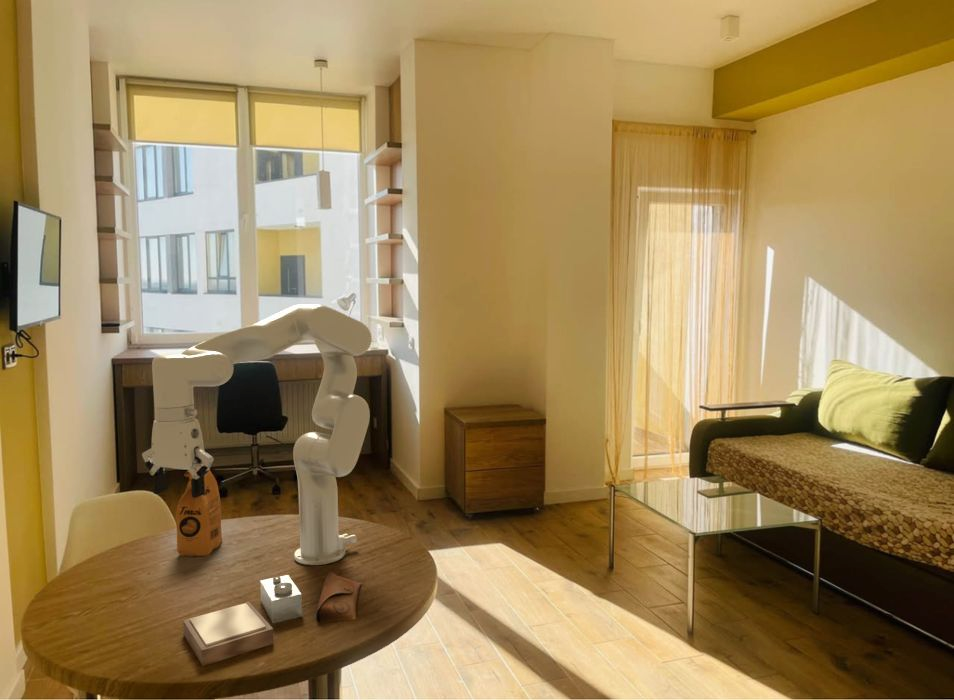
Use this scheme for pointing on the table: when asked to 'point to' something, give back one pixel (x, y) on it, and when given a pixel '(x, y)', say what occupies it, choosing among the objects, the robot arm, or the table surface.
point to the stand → (227, 633)
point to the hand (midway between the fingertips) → (179, 494)
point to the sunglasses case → (337, 599)
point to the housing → (281, 598)
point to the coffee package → (199, 519)
